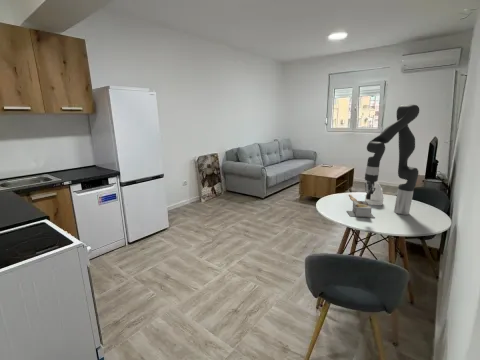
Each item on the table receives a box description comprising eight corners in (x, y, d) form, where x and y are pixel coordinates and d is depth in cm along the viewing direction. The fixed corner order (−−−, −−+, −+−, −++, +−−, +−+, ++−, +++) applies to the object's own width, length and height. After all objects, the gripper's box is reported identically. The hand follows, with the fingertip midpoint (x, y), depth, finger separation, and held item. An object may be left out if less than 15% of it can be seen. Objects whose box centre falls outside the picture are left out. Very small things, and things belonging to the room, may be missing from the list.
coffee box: (371, 217, 172) (366, 209, 188) (371, 208, 171) (366, 201, 186) (356, 216, 175) (352, 208, 190) (356, 207, 173) (352, 200, 188)
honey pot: (361, 201, 209) (364, 179, 204) (372, 199, 214) (375, 178, 210) (375, 206, 198) (378, 183, 193) (386, 204, 203) (390, 181, 199)
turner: (347, 195, 223) (347, 194, 223) (352, 195, 223) (352, 194, 223) (352, 201, 209) (352, 200, 209) (357, 201, 208) (357, 200, 208)
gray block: (346, 211, 185) (346, 210, 185) (369, 212, 183) (369, 212, 183) (350, 216, 176) (350, 215, 175) (375, 218, 174) (375, 217, 173)
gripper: (362, 170, 172) (358, 195, 176) (369, 175, 159) (365, 202, 163) (374, 171, 171) (370, 196, 175) (382, 175, 158) (377, 202, 162)
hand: (368, 199), depth 169 cm, fingers closed
